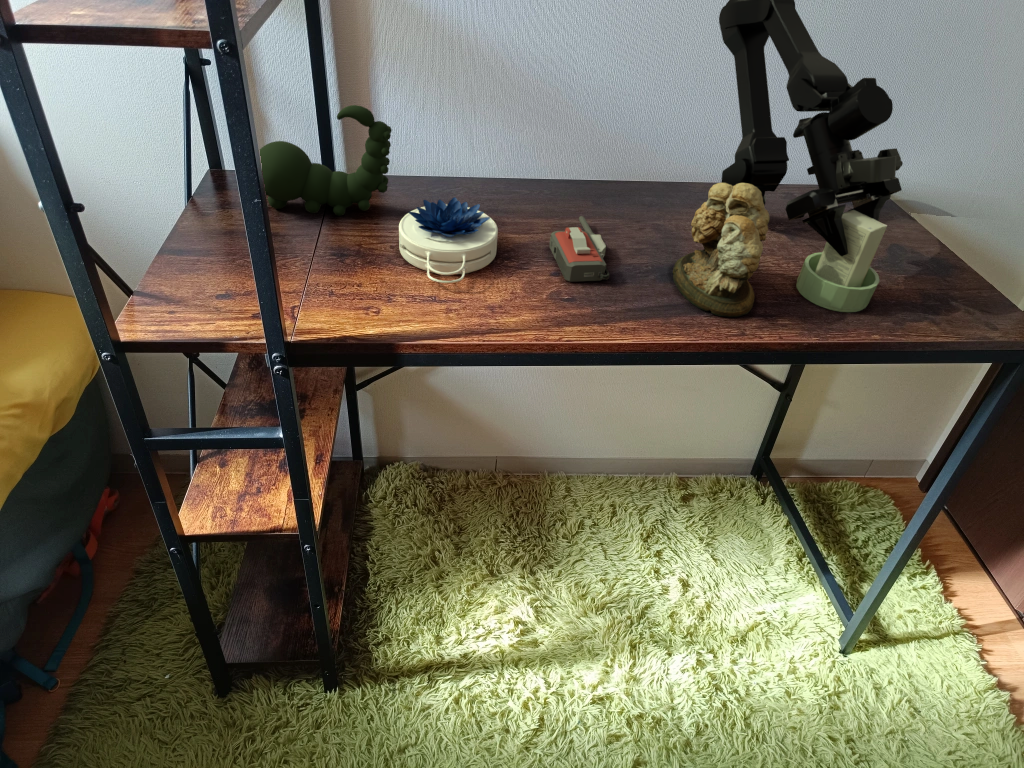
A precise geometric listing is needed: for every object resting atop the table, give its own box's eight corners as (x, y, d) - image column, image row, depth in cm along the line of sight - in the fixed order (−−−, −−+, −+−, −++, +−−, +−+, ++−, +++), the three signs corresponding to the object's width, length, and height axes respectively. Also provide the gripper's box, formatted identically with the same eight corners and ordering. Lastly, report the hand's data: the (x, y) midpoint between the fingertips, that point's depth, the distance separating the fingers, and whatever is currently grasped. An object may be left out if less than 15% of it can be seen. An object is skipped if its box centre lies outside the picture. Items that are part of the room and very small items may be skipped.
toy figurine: (387, 207, 125) (242, 189, 121) (394, 101, 113) (233, 77, 109) (384, 232, 118) (230, 214, 114) (390, 121, 106) (219, 97, 102)
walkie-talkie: (620, 285, 108) (585, 224, 123) (625, 260, 105) (589, 201, 120) (566, 287, 106) (537, 225, 121) (569, 261, 103) (540, 201, 118)
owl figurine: (655, 258, 115) (679, 158, 104) (720, 256, 118) (751, 158, 107) (697, 320, 102) (730, 213, 91) (770, 316, 104) (810, 212, 93)
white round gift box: (404, 185, 113) (388, 245, 98) (499, 192, 114) (498, 252, 99) (405, 224, 118) (390, 287, 102) (496, 230, 118) (495, 293, 103)
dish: (796, 302, 108) (806, 279, 105) (795, 268, 117) (804, 246, 114) (871, 319, 106) (883, 295, 103) (865, 283, 115) (875, 261, 112)
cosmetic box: (857, 295, 110) (890, 226, 102) (840, 302, 108) (872, 232, 100) (825, 276, 114) (854, 208, 106) (807, 282, 112) (836, 213, 104)
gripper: (830, 135, 94) (862, 246, 94) (919, 122, 102) (948, 224, 102) (771, 168, 104) (799, 268, 104) (855, 154, 112) (882, 247, 112)
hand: (859, 251), depth 105 cm, fingers open, 6 cm apart
